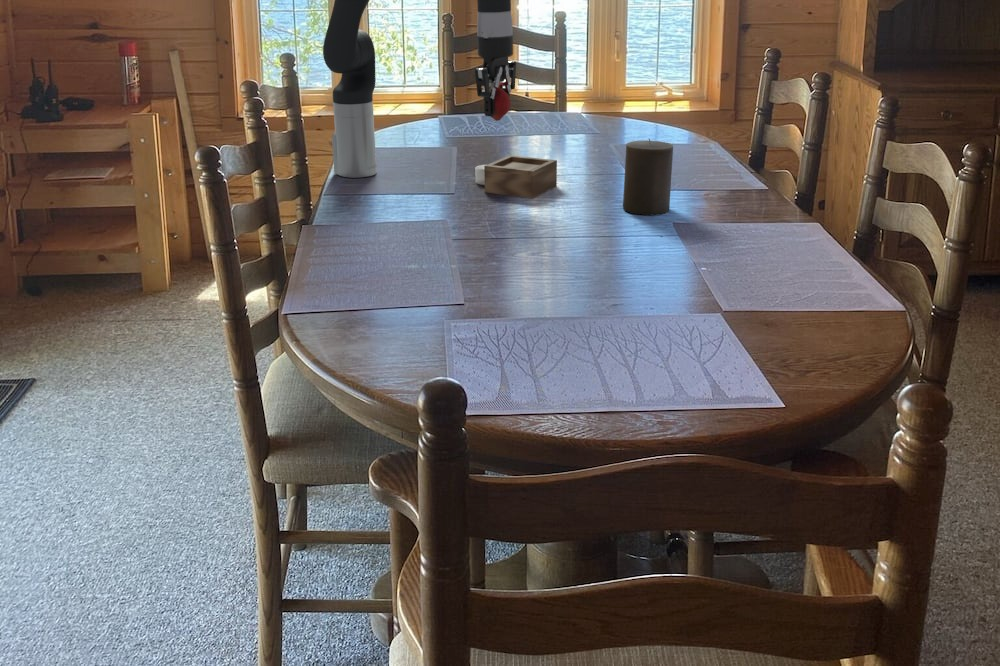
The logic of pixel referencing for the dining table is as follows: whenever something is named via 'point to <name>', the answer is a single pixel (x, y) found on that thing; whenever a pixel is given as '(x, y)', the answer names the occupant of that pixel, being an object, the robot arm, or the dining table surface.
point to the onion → (501, 103)
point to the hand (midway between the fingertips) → (497, 113)
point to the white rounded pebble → (480, 174)
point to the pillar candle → (647, 177)
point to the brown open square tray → (520, 176)
